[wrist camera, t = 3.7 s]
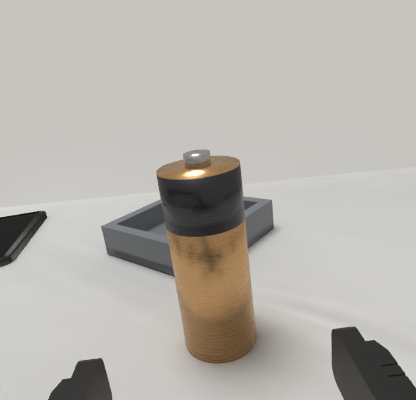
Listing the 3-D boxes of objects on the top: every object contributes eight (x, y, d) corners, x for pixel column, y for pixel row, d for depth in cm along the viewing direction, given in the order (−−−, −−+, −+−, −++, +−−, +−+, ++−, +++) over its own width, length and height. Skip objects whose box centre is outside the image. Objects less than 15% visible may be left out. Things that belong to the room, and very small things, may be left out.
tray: (107, 253, 36) (101, 226, 35) (187, 212, 45) (183, 189, 44) (199, 284, 29) (194, 250, 28) (273, 227, 37) (271, 200, 36)
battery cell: (170, 345, 22) (136, 161, 19) (214, 307, 26) (191, 143, 22) (229, 374, 20) (202, 165, 16) (269, 327, 23) (254, 144, 19)
